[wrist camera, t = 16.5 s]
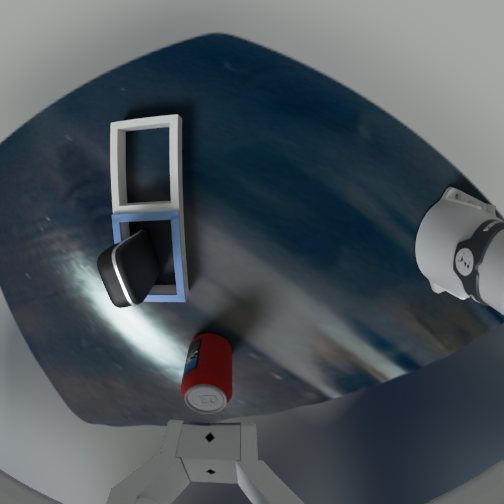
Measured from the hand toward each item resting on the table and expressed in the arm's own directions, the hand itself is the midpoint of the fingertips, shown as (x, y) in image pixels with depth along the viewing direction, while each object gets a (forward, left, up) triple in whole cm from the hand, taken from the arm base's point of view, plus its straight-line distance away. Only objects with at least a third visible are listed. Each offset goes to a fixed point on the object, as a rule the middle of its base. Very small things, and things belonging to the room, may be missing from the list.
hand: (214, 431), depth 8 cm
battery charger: (+12, +3, -31) cm, 34 cm away
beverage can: (+3, +18, -31) cm, 36 cm away
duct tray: (+10, -4, -31) cm, 33 cm away
